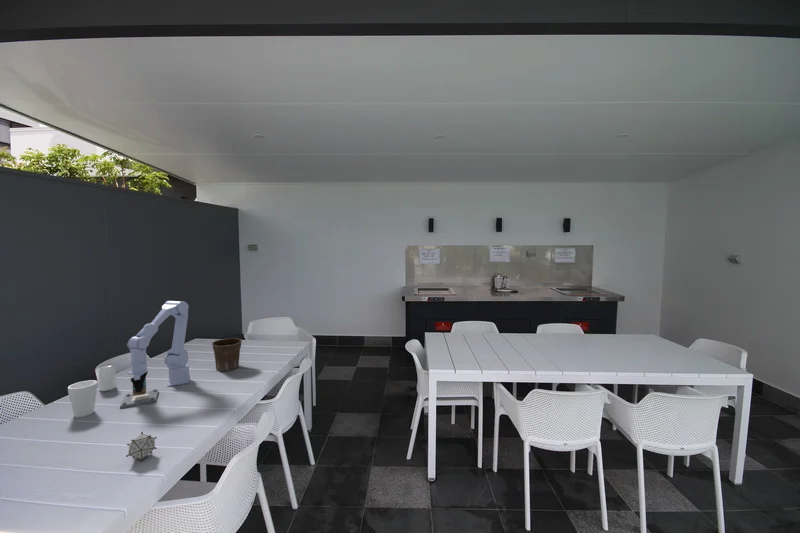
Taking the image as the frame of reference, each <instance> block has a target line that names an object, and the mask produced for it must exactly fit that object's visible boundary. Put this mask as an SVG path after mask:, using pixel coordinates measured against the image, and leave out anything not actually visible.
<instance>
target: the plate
mask: <svg viewBox="0 0 800 533" xmlns="http://www.w3.org/2000/svg"><path fill="white" fill-rule="evenodd" d="M158 394H159V389H155V388H154V389H152V390H146V393H145V394H143V395H137V396H133V393H126V394H125V395H124V397H123V399H122V401H121V404H120V405H119V409H125V408H131V407H136V406H141V404H142V405H147V404H146V403H148V404H152V403H151V402H153V403H156V402H157V398H158Z"/></svg>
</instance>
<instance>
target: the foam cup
mask: <svg viewBox="0 0 800 533" xmlns="http://www.w3.org/2000/svg"><path fill="white" fill-rule="evenodd" d="M98 387H99V384H98V380H95V379H93V380H92V379H89V380H83V381H78V382H75V383H73V384H70V385H68V387H67V394H68V395H69V401H70V404H71V407H72V408H71V409H72V412H73V416H74V417H75V418H81V417H82V418H83V417H86V416H90V415H92V414H93V413H94V412H95V407H96V406H95V405H96V399H97V391H98Z"/></svg>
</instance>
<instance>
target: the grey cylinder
mask: <svg viewBox="0 0 800 533" xmlns="http://www.w3.org/2000/svg"><path fill="white" fill-rule="evenodd" d="M116 374H117V373H116V366H115V364H114V363H110V364H109V363H108V364H104V365H100V366H99V368H98V387H99V388H98V389H99V392H108V390H109V391H113V390H115V389H116V388H117V378H116Z"/></svg>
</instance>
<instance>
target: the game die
mask: <svg viewBox="0 0 800 533" xmlns="http://www.w3.org/2000/svg"><path fill="white" fill-rule="evenodd" d="M156 439H157V436H155V437H153V436H152V435H151V434H150V435H147V434H145V433H144V431H141V432H140V435H139V436H137V437H136V438H134V439H131V442H130V443H127V444H126V445H127V446H128V454H126V455H125V458H128V457H132V458H133V459H134V458H136V459H139V460H140V462H141V463H142V462H143V461H144V458H146V456H147V457H148V455H149V454H152V453H153V450H157V449H158V447H156V444H155V442H156V441H155V440H156Z"/></svg>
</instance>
